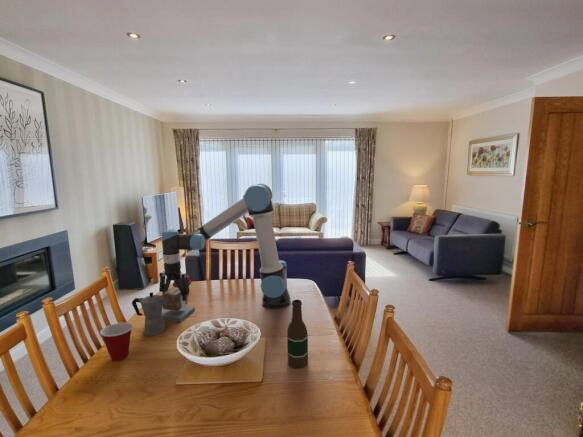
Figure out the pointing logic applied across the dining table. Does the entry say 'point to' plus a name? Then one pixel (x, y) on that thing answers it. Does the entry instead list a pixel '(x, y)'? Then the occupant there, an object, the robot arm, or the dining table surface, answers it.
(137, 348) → the dining table surface
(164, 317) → the shaft stand
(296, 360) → the beer bottle
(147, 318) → the coffeepot
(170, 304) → the cardboard box
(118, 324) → the plastic cup
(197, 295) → the dining table surface
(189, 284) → the mechanical component
